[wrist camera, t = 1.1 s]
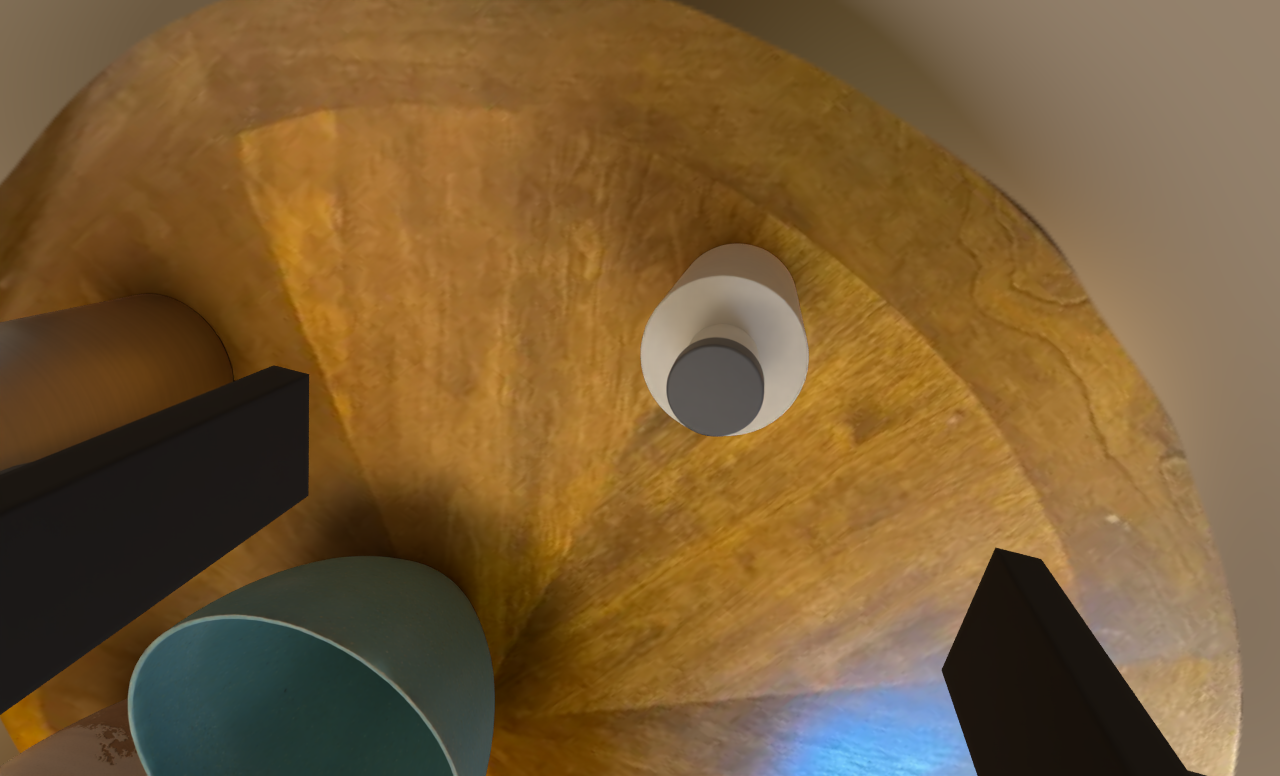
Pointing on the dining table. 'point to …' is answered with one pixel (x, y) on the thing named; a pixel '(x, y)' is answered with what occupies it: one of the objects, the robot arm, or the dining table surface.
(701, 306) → the bottle
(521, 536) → the dining table surface
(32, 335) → the metal canister
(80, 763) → the vase
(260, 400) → the robot arm
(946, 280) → the dining table surface
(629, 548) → the dining table surface
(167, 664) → the plant pot
